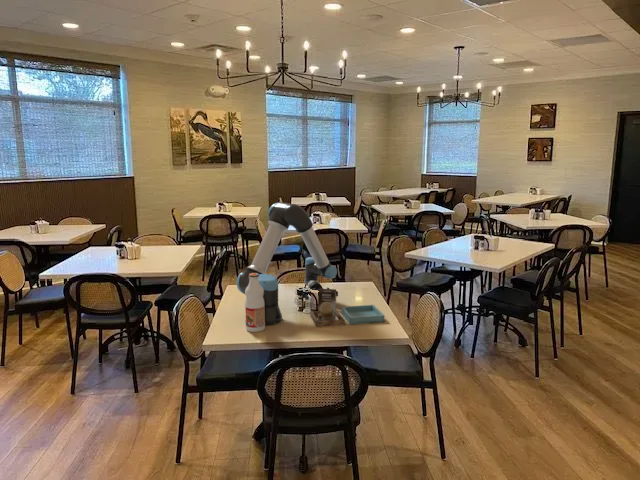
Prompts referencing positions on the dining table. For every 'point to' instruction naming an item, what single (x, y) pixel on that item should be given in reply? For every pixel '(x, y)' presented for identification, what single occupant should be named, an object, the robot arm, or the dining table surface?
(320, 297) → the coffee box
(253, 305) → the fruit juice
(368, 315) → the teal tray
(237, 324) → the dining table surface
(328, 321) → the walnut frame
